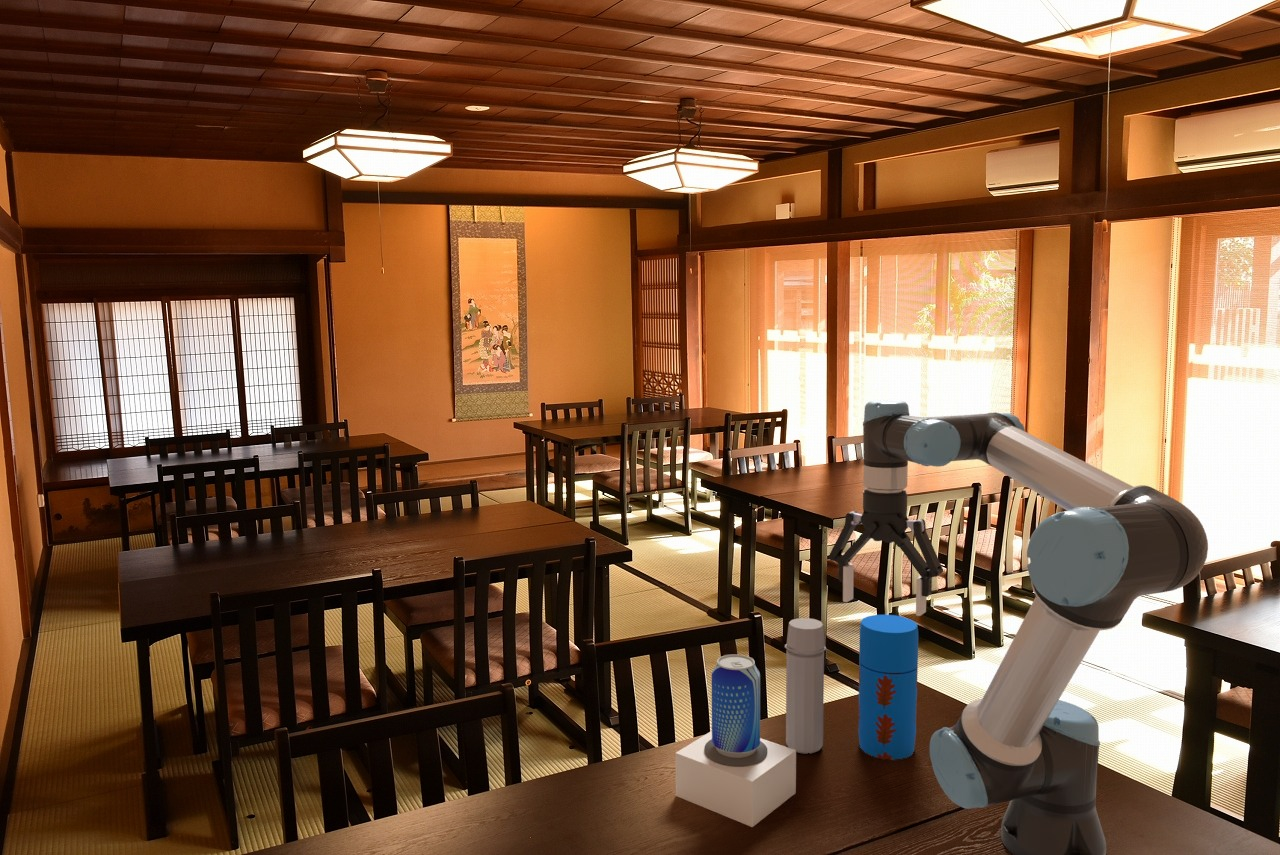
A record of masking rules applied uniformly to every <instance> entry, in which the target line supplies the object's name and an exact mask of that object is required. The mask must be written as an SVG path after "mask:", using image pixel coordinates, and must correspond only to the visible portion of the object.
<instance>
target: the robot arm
mask: <svg viewBox="0 0 1280 855" xmlns="http://www.w3.org/2000/svg"><path fill="white" fill-rule="evenodd" d="M862 427H863V429H862V431H863V432H862V434H863V435H862V438H863V440H862V441H863V442H862V444H863V445H862V446H863V452H862V453H863V456H862V457H863V458H862V459H863V469H862V471H863V476H862V486H863V487H864V490H863V491H862V510H863V512H862V513H858V512H857V511H856V510H852V511H850V512H847V513H846V515H845V521H844V526H843V527H842V529H841V531H840V533H839V535H838V537H837V539H836V541H835V543H834V546H833V547H832V549H831V551H830V553H829V555H828V559H829V560H830V561H833V562H836V563H837V564H838V580H839V583H842V602H844V603H848V602H850V601H852V600H853V599H854V578H855V577H854V572H855V571H854V563H850V562H851V560H852V559H853V558H854V557H855V556H856V555H857V554H858V553H859V552H860V550H862V548H864V547H865V545H866V544H867V543H868V542H869V541H870V540H871V539H872V540H873V541H874V542H884V543H886V544H888V543H889V544H892V543H894V544H895V545H896V546H897V547H898V548H899V549H900V550H901V551H902V552H903V553H904V554H903V555H904V556H905V557H906V558H907V559H908V560H909V562H910V563H911V565H912V566H913V568H914V569H915V571H916V572H917V573H918V574H919V576H918V577H917V578H916V580H915V581H916V582H915V583H916V585H915V586H916V587H915V588H916V591H915V592H916V594H915V616H918V617H920V616H922V615H924V614H925V613H927V597H929V596H931V594H932V593H933V592H932V591H933V589H932V587H933V584H932V582H933V578H936V577H938V576H940V575H941V574H943V573H944V568H943V566H942V564H941V562H940V560H939V557H938V555H937V552H936V551H935V548H934V546H933V544H932V541H931V539H930V537H929V535H928V533H927V529H926V528H927V527H926V520H925V519H924V518H919V519H916V520H914V519H913V520H911V519H910V520H909V519H908V516H907V515H908V514H907V513H908V492H907V490H905V489H906V488H907V487H908V475H909V474H908V464H909V462H911V463H915V464H918V465H921V466H923V467H936V468H937V467H939V468H940V467H944V466H947V465H948V464H950V463H951V462H959V461H970V460H971V461H973V460H979V461H982V462H984V463H985V464H987V465H988V466H991V467H992V468H994V469H996V470H998V471H999V472H1000V473H1003V474H1004V475H1007V476H1008V477H1009V478H1011V479H1013V480H1014V481H1016V482H1018V483H1020V484H1021V485H1022V486H1025V487H1026V488H1029V490H1031V491H1033V492H1035V493H1037V495H1040V496H1042V497H1043V498H1045V499H1046V500H1048V501H1050V502H1052V503H1053V504H1055V505H1057V506H1059V507H1060V508H1062V509H1064V511H1060V512H1056V513H1054V514H1051V515H1050V516H1048V517H1046V518H1045V519H1044V520H1042V521H1041V522H1040V523H1039V524H1038V525H1037V526H1036V528H1035V529H1034V531H1033V533H1032V534H1031V536H1030V538H1029V541H1028V545H1027V549H1026V557H1027V558H1028V559H1029V560H1030V561H1029V563H1027V565H1026V568H1027V572H1028V575H1029V578H1030V581H1031V588H1032V591H1033V593H1034V595H1035V597H1034V599H1033V602H1032V603H1031V605H1030V607H1029V609H1028V611H1027V612H1026V614H1025V617H1024V619H1023V620H1022V622H1021V624H1020V626H1019V628H1018V630H1017V632H1016V634H1015V636H1014V638H1013V639H1012V641H1011V643H1010V645H1009V647H1008V649H1007V650H1006V653H1005V655H1004V656H1003V659H1002V661H1001V662H1000V664H999V666H998V668H997V670H996V672H995V674H994V675H993V678H992V680H991V681H990V682H989V684H988V687H987V689H986V691H985V692H984V695H983V697H982V698H978V699H975V700H973V701H970V703H968V704H967V705H966V706H965V707H964V709H963V710H962V712H961V714H960V716H959V718H958V720H957V722H956V724H955V725H953V726H951V727H947V726H944V727H942V728H940V729H937V730H935V732H934V733H933V734H932V735H931V737H930V740H929V758H930V763H931V766H932V770H933V773H934V776H935V778H936V780H937V783H938V784H939V786H940V787H941V790H942V791H943V792H944V793H945V796H947V798H948V799H949V800H950V801H952V803H954V804H955V805H956V806H959V807H961V808H963V809H965V810H966V809H967V810H968V809H978V808H982V809H985V808H987V807H989V806H993V805H997V804H1001V803H1006V802H1009V804H1008V806H1007V808H1006V810H1005V813H1004V815H1003V818H1002V821H1001V826H1000V827H1001V830H1000V833H1001V834H1000V839H1001V842H1002V844H1003V845H1004V847H1005V848H1006V849H1007V850H1008V851H1009V852H1010V853H1011V854H1012V855H1107V840H1106V837H1105V835H1104V831H1103V828H1102V825H1101V822H1100V819H1099V815H1098V811H1097V808H1096V802H1097V801H1096V798H1097V784H1098V769H1099V768H1098V767H1099V756H1100V755H1099V754H1100V746H1101V742H1100V740H1099V739H1100V736H1099V724H1098V721H1097V719H1096V718H1095V717H1094V715H1092V714H1091V713H1090V712H1089V711H1088V710H1086V709H1084V708H1082V707H1081V706H1077V705H1076V704H1073V703H1070V702H1067V701H1064V700H1060V698H1061V696H1062V695H1063V693H1064V691H1065V690H1066V688H1067V687H1068V685H1069V683H1070V682H1071V680H1072V678H1073V677H1074V675H1075V673H1076V671H1077V670H1078V668H1079V666H1080V665H1081V663H1082V662H1083V660H1084V658H1085V656H1086V654H1087V653H1088V652H1089V650H1090V648H1091V646H1092V645H1093V643H1094V641H1095V639H1096V638H1097V637H1098V635H1099V633H1100V631H1107V630H1112V629H1114V628H1116V627H1117V626H1118V625H1119V624H1120V623H1121V622H1122V621H1123V619H1124V618H1125V615H1126V614H1127V613H1128V611H1129V609H1130V607H1131V606H1132V604H1133V603H1134V601H1135V600H1136V599H1137V598H1138V597H1140V596H1148V595H1153V594H1161V593H1167V592H1172V591H1175V590H1178V589H1180V588H1183V587H1184V586H1186V585H1188V584H1189V583H1191V582H1192V581H1194V579H1195V578H1197V577H1198V575H1199V574H1200V572H1201V571H1202V569H1203V568H1204V566H1205V563H1206V561H1207V558H1208V551H1209V543H1208V537H1207V533H1206V530H1205V528H1204V526H1203V524H1202V522H1201V521H1200V519H1199V518H1198V517H1197V515H1196V514H1194V513H1193V511H1192V510H1191V509H1189V508H1188V507H1187V506H1186V505H1184V504H1183V503H1182V502H1180V501H1179V500H1177V499H1175V498H1173V497H1171V496H1170V495H1168V494H1166V493H1164V492H1161V491H1159V490H1157V489H1155V488H1154V487H1151V486H1149V485H1135V486H1133V485H1132V484H1130V483H1128V482H1125V481H1123V480H1121V479H1119V478H1117V477H1115V476H1113V475H1111V474H1109V473H1107V472H1106V471H1104V470H1102V469H1100V468H1098V467H1095V466H1094V465H1092V464H1090V463H1088V462H1086V461H1084V460H1082V459H1079V458H1078V457H1076V456H1074V455H1072V454H1070V453H1068V452H1066V451H1064V450H1062V449H1060V448H1058V447H1056V446H1055V445H1052V444H1051V443H1049V442H1046V441H1044V440H1042V439H1040V438H1038V437H1037V436H1035V435H1033V434H1031V433H1029V432H1026V429H1025V426H1024V424H1023V423H1021V421H1020V418H1019V417H1018V416H1017V415H1014V414H1013V413H1012V414H1011V413H1002V412H996V411H995V412H994V411H993V412H988V413H978V414H977V413H976V414H963V415H962V414H961V415H959V414H958V415H946V416H945V415H944V416H943V415H942V416H928V417H925V416H923V417H922V416H913V415H910V410H909V405H908V403H907V402H905V401H902V400H890V399H889V400H888V399H887V400H884V399H883V400H871V401H869V402H866V404H865V406H864V413H863V422H862ZM860 523H861V524H862V526H863V528H864V531H863V532H862V533H861V534H860V535H859V537H858V538H857V539H856V540H855V542H853V543H852V544H851V545H850V546H849V548H848V549H847V550H846V551H845V552H844V550H845V548H846V546H847V545H848V542H849V541H850V538H851V536H852V535H853V533H854V531H855V529H856V527H857V525H859V524H860ZM908 528H909V530H910V531H911V532H912V533H913V535H914V538H915V541H916V543H917V545H918V548H919V550H920V552H921V554H920V552H919V551H918V550H917V548H916V547H915V546H914V544H913V543H912V541H911V538H910V537H909V535H908V534H907V532H906V531H907V529H908ZM843 552H844V553H843Z"/></svg>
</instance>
